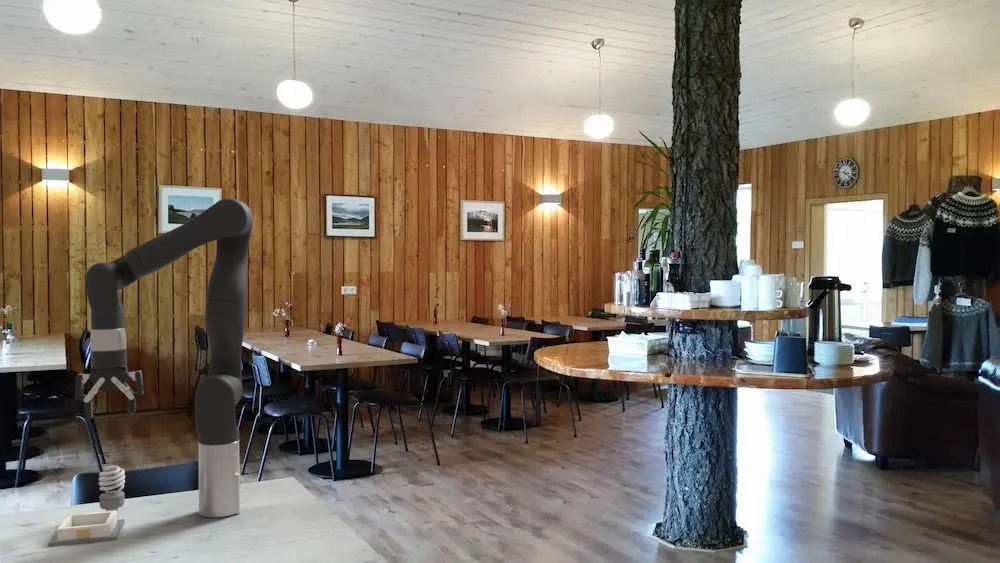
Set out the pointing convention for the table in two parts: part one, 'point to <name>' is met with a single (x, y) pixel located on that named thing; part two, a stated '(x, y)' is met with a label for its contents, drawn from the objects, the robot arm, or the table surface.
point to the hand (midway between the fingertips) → (110, 416)
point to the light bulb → (112, 498)
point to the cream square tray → (87, 525)
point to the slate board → (112, 536)
